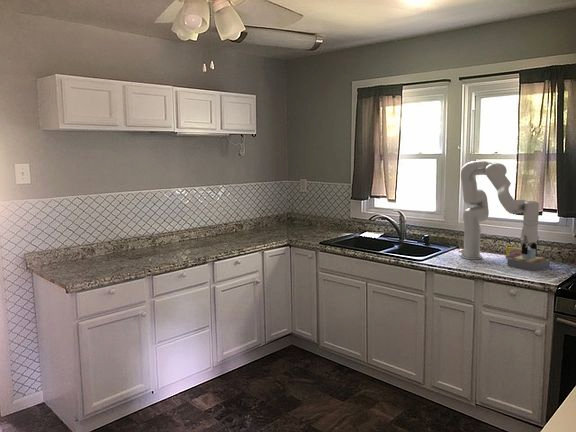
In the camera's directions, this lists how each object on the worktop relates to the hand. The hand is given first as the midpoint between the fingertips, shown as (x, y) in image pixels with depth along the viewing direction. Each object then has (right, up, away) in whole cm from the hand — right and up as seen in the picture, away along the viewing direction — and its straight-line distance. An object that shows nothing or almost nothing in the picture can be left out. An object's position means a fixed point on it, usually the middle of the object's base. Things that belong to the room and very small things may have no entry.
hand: (529, 252), depth 280 cm
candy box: (+3, -7, +17) cm, 19 cm away
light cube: (0, -3, 0) cm, 3 cm away
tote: (0, -9, +1) cm, 9 cm away
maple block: (0, -8, +1) cm, 8 cm away
